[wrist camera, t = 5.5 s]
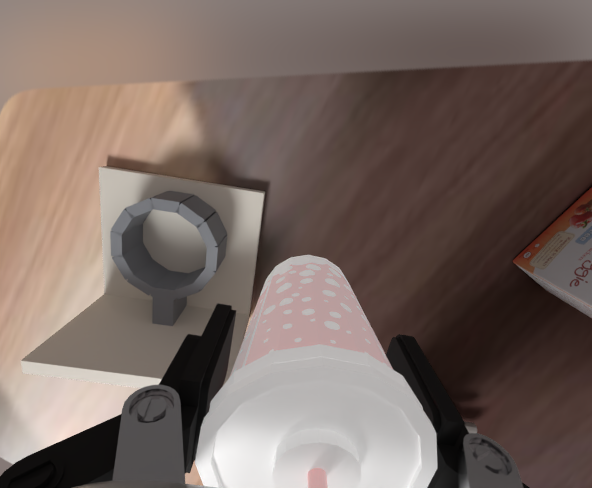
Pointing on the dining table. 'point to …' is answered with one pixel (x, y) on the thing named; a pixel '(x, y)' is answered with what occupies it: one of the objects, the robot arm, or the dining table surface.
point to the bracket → (158, 278)
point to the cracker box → (564, 256)
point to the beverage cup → (314, 396)
